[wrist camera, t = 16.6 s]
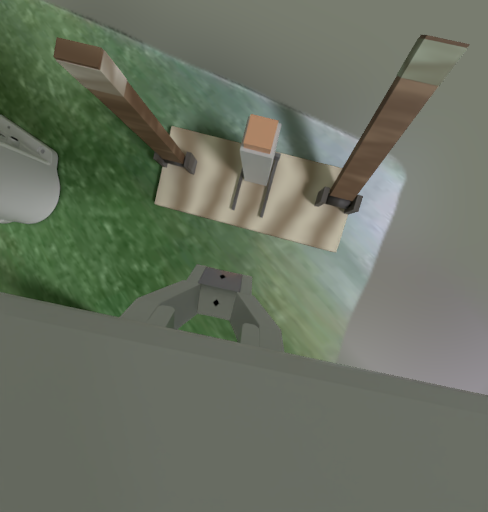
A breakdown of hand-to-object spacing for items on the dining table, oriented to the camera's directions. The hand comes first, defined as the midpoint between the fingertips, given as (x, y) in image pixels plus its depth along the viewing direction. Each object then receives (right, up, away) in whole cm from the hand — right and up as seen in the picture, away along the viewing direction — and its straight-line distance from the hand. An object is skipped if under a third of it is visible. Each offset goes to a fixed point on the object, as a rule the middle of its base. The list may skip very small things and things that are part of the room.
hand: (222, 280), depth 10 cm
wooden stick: (+17, +10, +19) cm, 28 cm away
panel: (+3, +13, +23) cm, 27 cm away
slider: (+4, +16, +21) cm, 27 cm away
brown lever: (-10, +18, +21) cm, 29 cm away
